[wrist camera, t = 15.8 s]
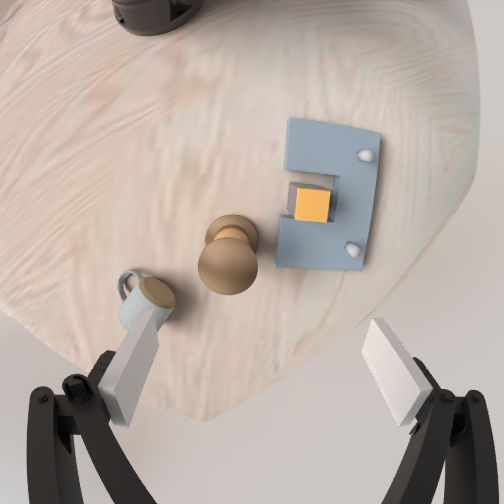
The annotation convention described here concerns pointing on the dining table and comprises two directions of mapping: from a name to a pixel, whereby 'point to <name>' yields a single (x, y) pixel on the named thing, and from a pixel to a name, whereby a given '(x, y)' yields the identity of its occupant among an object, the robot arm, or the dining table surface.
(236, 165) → the dining table surface
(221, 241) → the bobbin
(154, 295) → the ceramic mug
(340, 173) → the board
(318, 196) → the orange and grey block
